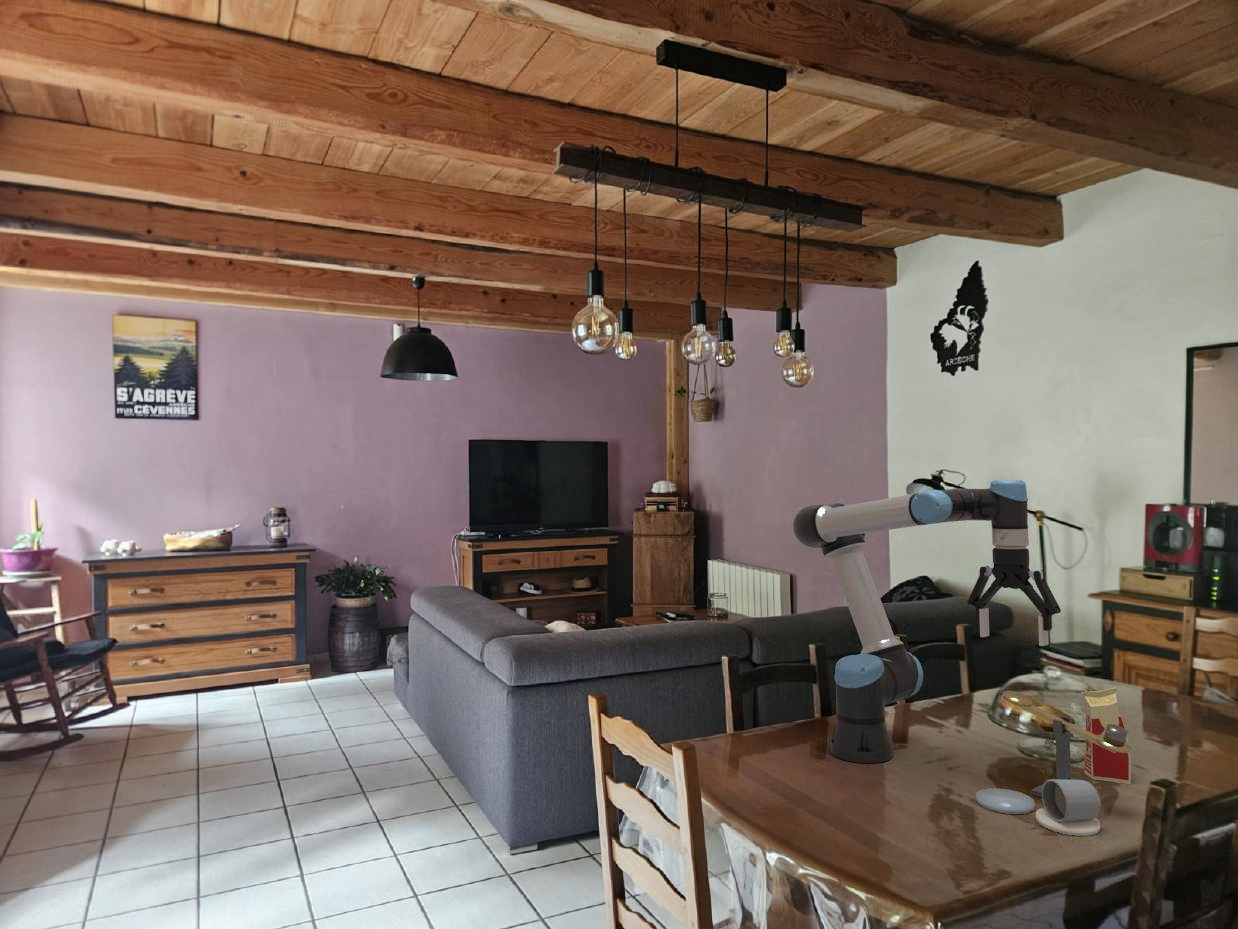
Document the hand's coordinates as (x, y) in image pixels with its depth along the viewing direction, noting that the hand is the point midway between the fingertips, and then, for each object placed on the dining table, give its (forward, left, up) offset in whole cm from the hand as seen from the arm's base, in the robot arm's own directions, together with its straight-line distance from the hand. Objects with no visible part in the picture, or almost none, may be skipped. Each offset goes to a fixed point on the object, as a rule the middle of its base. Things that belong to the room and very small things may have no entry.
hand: (1013, 640), depth 182 cm
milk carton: (+12, +16, -31) cm, 37 cm away
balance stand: (+12, -4, -31) cm, 33 cm away
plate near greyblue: (+6, -17, -31) cm, 36 cm away
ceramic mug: (+18, -16, -30) cm, 38 cm away
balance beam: (+12, -4, -15) cm, 20 cm away
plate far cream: (+18, -17, -31) cm, 40 cm away
